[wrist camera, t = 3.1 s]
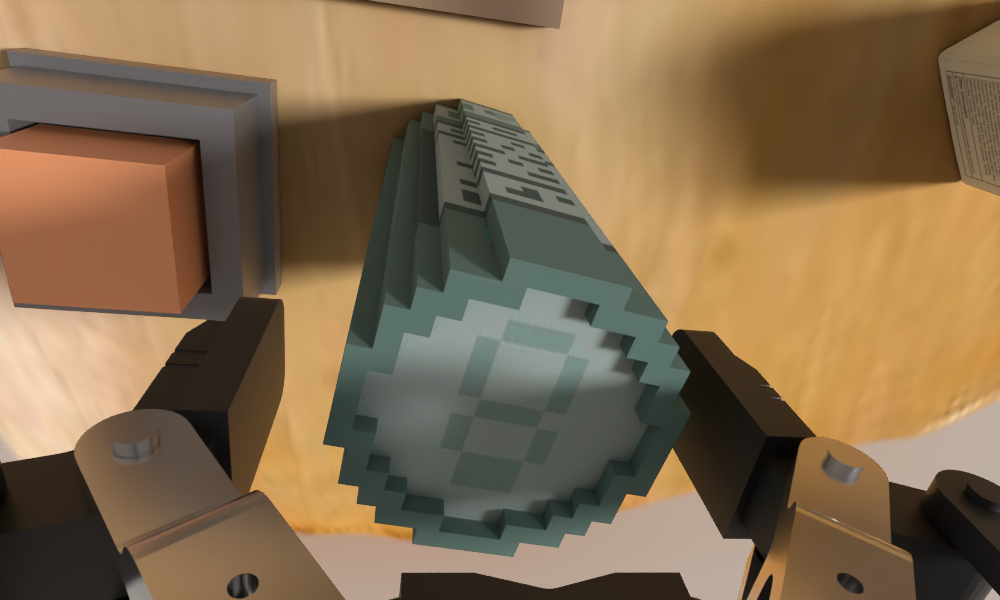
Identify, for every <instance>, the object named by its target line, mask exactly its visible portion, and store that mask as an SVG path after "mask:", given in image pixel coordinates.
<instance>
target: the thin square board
mask: <svg viewBox="0 0 1000 600" xmlns="http://www.w3.org/2000/svg"><path fill="white" fill-rule="evenodd" d="M371 1H378V2H384V3H391V4H398V5H404V6H411V7H417V8H424V9H431V10H437V11H444V12H451V13H457V14H464V15H470V16H477V17H484V18H490V19H497V20H503V21H510V22H517V23H523V24H530V25H537V26H543V27H550V28H556V29H559V28H560V22H561V16H562V10H563V4H564V0H371Z"/></svg>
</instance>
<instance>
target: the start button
mask: <svg viewBox="0 0 1000 600" xmlns="http://www.w3.org/2000/svg"><path fill="white" fill-rule="evenodd" d="M0 251H1V255H2V259H3V263H4V267H5V271H6V275H7V280H8V284H9V288H10V292H11V296H12V300H13V303H24V304H39V305H55V306H70V307H85V308H100V309H115V310H130V311H145V312H160V313H176V314H181V313H182V311H183V310H184V309H185V307H186V306H187V305H188V303H189V302H190V301H191V299H192V298H193V297H194V296H195V294H196V293H197V292H198V290H199V289H200V288H201V286H202V285H203V284H204V282H205V281H206V280H207V279H208V277H209V276H210V275H211V273H210V260H209V248H208V236H207V223H206V211H205V198H204V186H203V173H202V161H201V149H200V141H193V140H184V139H174V138H165V137H156V136H147V135H138V134H129V133H120V132H111V131H101V130H92V129H83V128H74V127H65V126H56V125H47V124H38V125H35V126H32V127H29V128H27V129H24V130H21V131H18V132H15V133H12V134H9V135H6V136H3V137H0Z"/></svg>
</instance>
